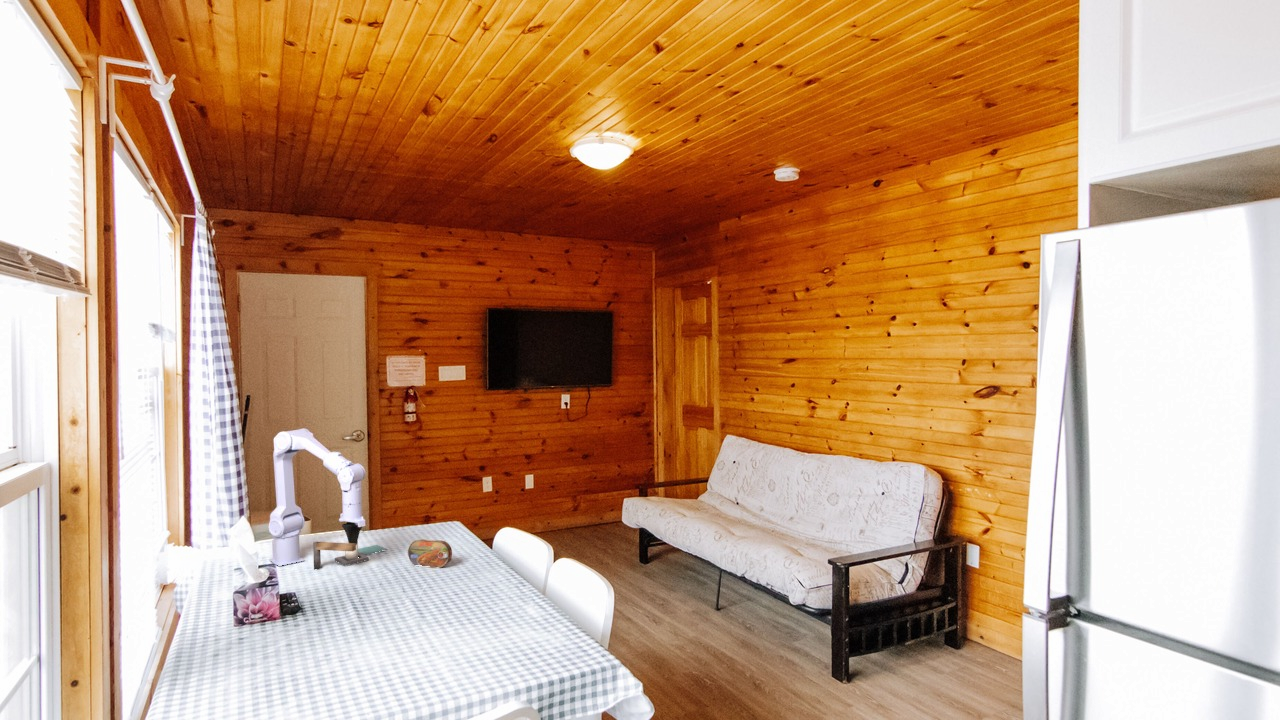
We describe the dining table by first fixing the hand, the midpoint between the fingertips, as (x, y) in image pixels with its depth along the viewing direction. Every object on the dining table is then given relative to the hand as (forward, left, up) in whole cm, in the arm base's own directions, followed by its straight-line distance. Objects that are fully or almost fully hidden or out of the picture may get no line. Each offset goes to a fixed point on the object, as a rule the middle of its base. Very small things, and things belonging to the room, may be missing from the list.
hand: (353, 545), depth 216 cm
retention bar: (-3, -5, -7) cm, 9 cm away
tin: (+16, +18, -8) cm, 25 cm away
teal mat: (-15, +12, -7) cm, 20 cm away
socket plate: (-9, +3, -7) cm, 12 cm away
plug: (-9, +3, -7) cm, 12 cm away
